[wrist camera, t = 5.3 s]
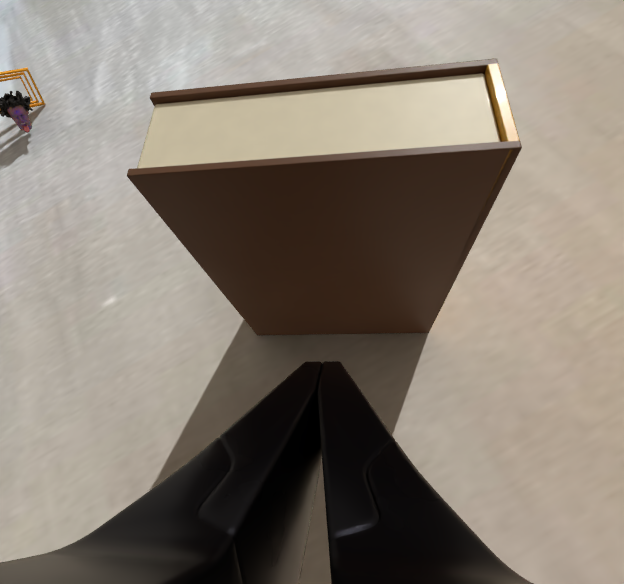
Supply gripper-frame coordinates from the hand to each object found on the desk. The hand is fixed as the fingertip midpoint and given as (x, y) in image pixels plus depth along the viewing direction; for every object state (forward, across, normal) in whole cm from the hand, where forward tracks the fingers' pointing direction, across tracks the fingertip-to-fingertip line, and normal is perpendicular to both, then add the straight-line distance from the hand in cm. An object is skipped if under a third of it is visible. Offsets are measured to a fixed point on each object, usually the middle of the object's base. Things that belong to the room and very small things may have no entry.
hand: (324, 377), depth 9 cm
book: (+9, 0, +2) cm, 9 cm away
